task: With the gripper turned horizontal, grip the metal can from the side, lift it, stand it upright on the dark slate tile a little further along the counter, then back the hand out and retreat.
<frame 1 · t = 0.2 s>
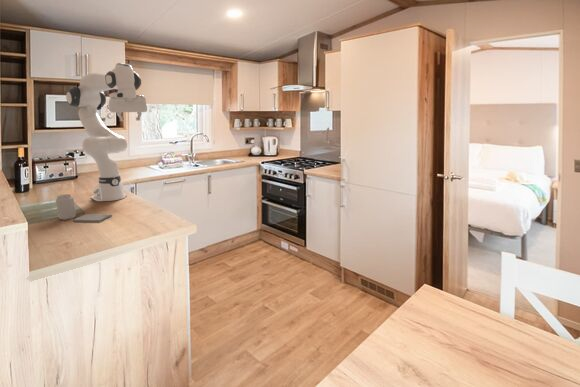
hand: (130, 120, 196), 48 cm above the kitchen counter, tool pointing down, fingers open, 8 cm apart
slate tile: (93, 219, 179), on the kitchen counter
can: (67, 218, 182), on the kitchen counter
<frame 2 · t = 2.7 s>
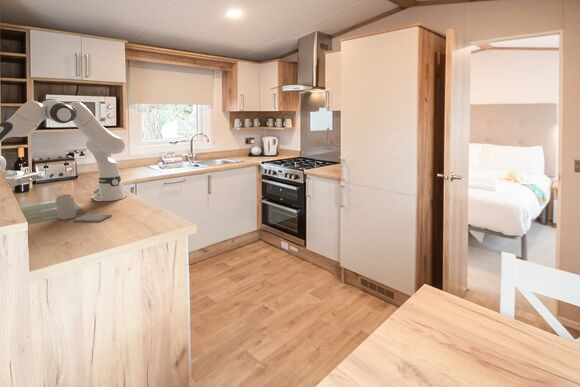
hand: (37, 178, 176), 21 cm above the kitchen counter, tool horizontal, fingers open, 8 cm apart
nothing on the kitchen counter moved.
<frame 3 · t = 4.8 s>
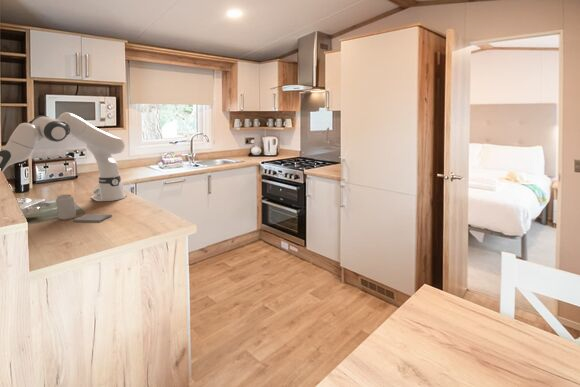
hand: (44, 206, 180), 6 cm above the kitchen counter, tool horizontal, fingers open, 8 cm apart
nothing on the kitchen counter moved.
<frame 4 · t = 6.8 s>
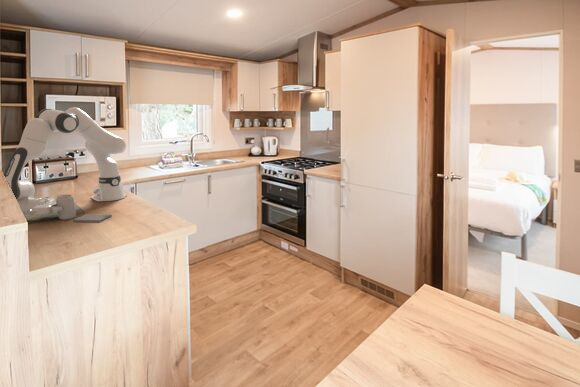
hand: (67, 205, 181), 6 cm above the kitchen counter, tool horizontal, fingers closed on can, 8 cm apart
can: (67, 218, 182), on the kitchen counter, touching gripper
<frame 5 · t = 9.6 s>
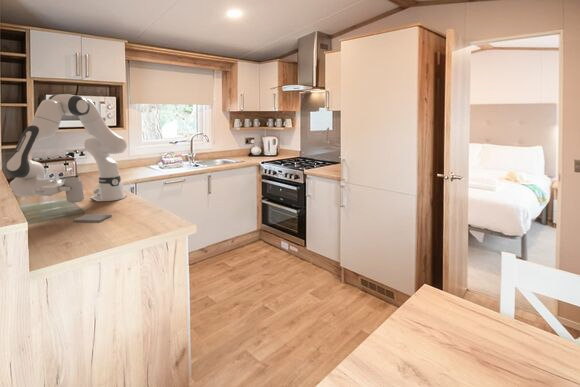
hand: (75, 186, 177), 17 cm above the kitchen counter, tool horizontal, fingers closed on can, 7 cm apart
can: (75, 201, 179), point 9 cm above the kitchen counter, touching gripper
when the fingers open (9 cm above the kitchen counter, at t = 12.3 s): can stays where it is, resting on slate tile.
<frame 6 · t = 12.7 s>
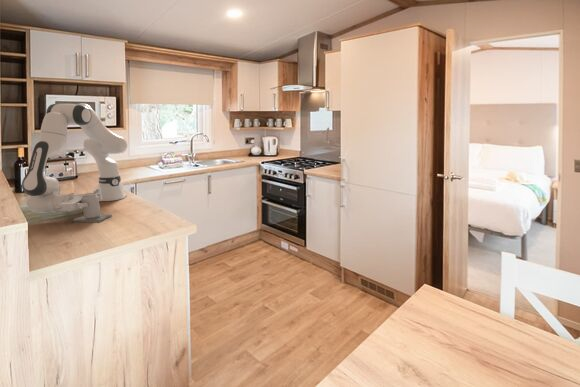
hand: (92, 202, 178), 9 cm above the kitchen counter, tool horizontal, fingers open, 8 cm apart
can: (92, 217, 179), point 1 cm above the kitchen counter, touching slate tile
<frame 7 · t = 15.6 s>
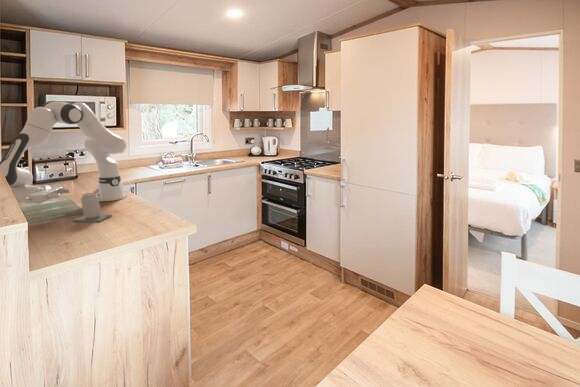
hand: (64, 193, 176), 14 cm above the kitchen counter, tool horizontal, fingers open, 8 cm apart
nothing on the kitchen counter moved.
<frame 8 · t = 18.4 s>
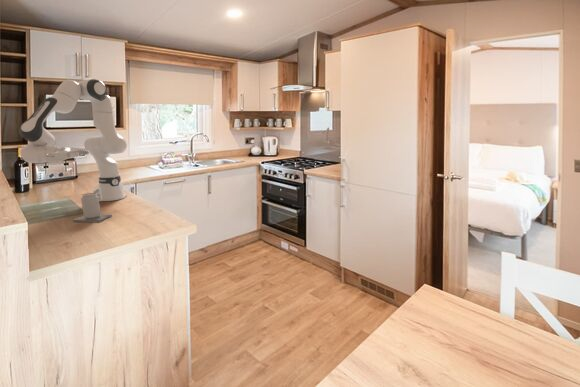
hand: (84, 153, 183), 32 cm above the kitchen counter, tool horizontal, fingers open, 8 cm apart
nothing on the kitchen counter moved.
at the end: can inside the target area on the slate tile (0.1 cm from its centre), point 0.8 cm above the slate tile's base; can tilted 0°; the gripper is holding nothing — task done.
